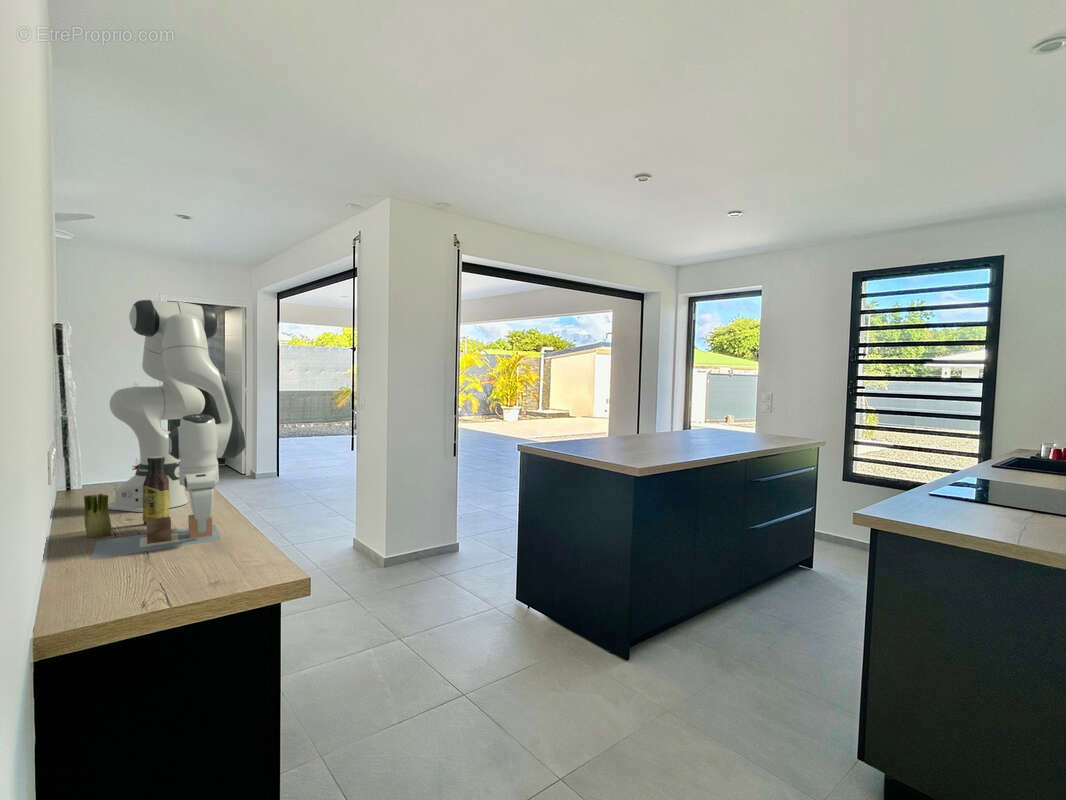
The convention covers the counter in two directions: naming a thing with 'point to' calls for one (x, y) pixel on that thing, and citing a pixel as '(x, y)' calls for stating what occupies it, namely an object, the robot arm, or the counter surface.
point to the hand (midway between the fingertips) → (200, 528)
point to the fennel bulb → (97, 516)
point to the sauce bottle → (155, 490)
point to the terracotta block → (194, 530)
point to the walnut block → (158, 530)
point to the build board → (140, 544)
